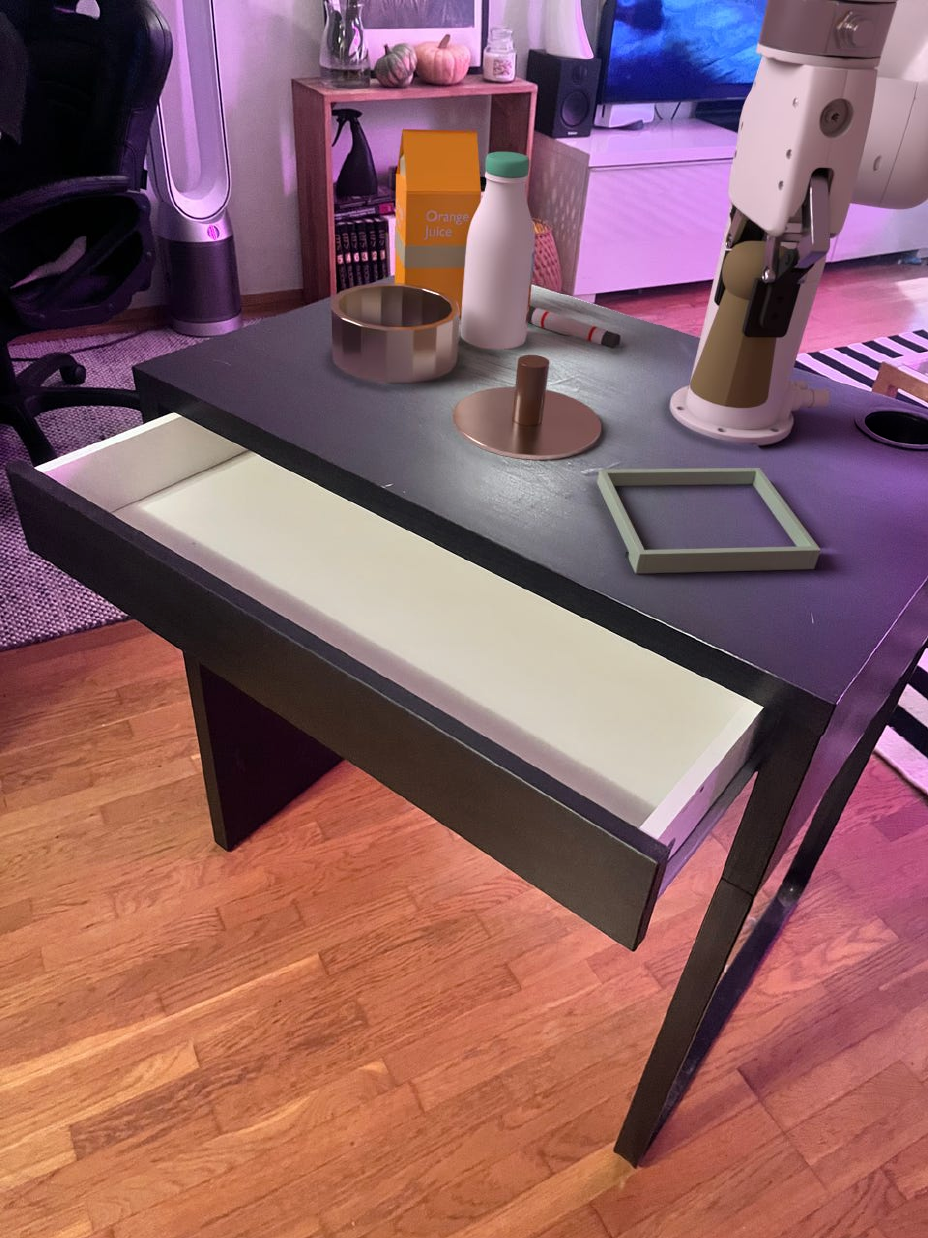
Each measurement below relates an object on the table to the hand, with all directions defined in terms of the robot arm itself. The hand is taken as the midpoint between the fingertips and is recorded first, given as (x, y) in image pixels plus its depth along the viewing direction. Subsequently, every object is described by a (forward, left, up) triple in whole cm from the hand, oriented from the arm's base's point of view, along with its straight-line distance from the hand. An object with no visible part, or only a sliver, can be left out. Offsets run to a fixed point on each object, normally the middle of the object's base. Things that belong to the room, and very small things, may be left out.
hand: (748, 317), depth 68 cm
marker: (+3, -42, -18) cm, 46 cm away
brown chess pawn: (0, 0, -6) cm, 6 cm away
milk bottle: (+12, -40, -18) cm, 45 cm away
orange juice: (+18, -51, -18) cm, 57 cm away
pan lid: (+12, -18, -18) cm, 27 cm away
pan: (+24, -34, -18) cm, 45 cm away
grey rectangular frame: (0, 0, -18) cm, 18 cm away
